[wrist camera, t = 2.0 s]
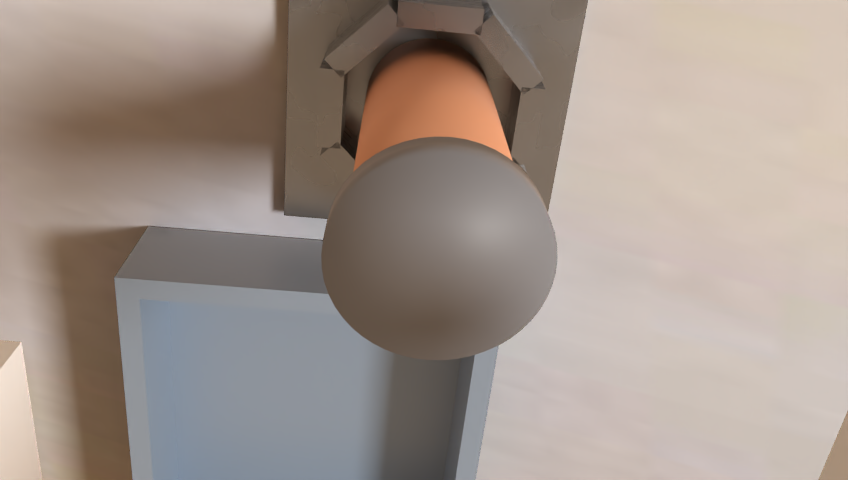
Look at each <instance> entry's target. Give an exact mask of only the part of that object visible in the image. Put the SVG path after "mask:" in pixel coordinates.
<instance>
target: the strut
mask: <svg viewBox="0 0 848 480" xmlns="http://www.w3.org/2000/svg"><path fill="white" fill-rule="evenodd" d="M321 263H322V273H323V278H324V283H325V286H326V288H327V291H328V294H329V296H330V298H331V300H332V302H333V304H334V306H335V308H336V309H337V310H338V312H339V313H340V315H341V316H342V318H343V319H344V320H345V321H346V322H347V323H348V324H349V325H350V326H351V327H352V328H353V329H354V330H355V331H356V332H358V333H359V334H360V335H361V336H362V337H364V338H365V339H367V340H368V341H370V342H372V343H373V344H375V345H377V346H379V347H381V348H383V349H385V350H387V351H390V352H393V353H396V354H398V355H402V356H406V357H410V358H416V359H423V360H451V359H459V358H464V357H469V356H473V355H476V354H479V353H482V352H485V351H487V350H490V349H492V348H494V347H496V346H498V345H500V344H502V343H503V342H505V341H507V340H509V339H510V338H511V337H513V336H514V335H515V334H517V333H518V332H519V331H521V330H522V329H523V328H524V327H525V326H526V325H527V324H528V323H529V322H530V321H531V320H532V319H533V317H534V316H535V315H536V314H537V312H538V311H539V310H540V308H541V307H542V305H543V303H544V302H545V300H546V298H547V296H548V294H549V292H550V289H551V287H552V284H553V280H554V277H555V273H556V266H557V243H556V238H555V232H554V229H553V226H552V223H551V220H550V217H549V215H548V212H547V209H546V206H545V204H544V201H543V199H542V197H541V195H540V193H539V191H538V189H537V187H536V186H535V184H534V183H533V182H532V180H531V179H530V177H529V176H528V175H527V174H526V173H525V172H524V171H523V170H522V169H521V168H520V167H519V166H518V165H517V164H516V163H514V162H513V161H512V157H511V154H510V151H509V148H508V145H507V142H506V138H505V135H504V132H503V129H502V126H501V122H500V119H499V116H498V113H497V110H496V106H495V103H494V100H493V97H492V94H491V91H490V87H489V84H488V81H487V78H486V75H485V73H484V71H483V69H482V68H481V66H480V65H479V63H478V62H477V61H476V59H475V58H474V57H473V56H472V55H471V54H469V53H468V52H467V51H466V50H464V49H463V48H461V47H460V46H458V45H456V44H454V43H451V42H448V41H445V40H440V39H433V38H424V39H417V40H412V41H409V42H406V43H404V44H401V45H399V46H398V47H396V48H394V49H393V50H391V51H390V52H389V53H387V54H386V55H385V56H384V57H383V58H382V59H381V61H380V62H379V63H378V64H377V66H376V67H375V69H374V71H373V73H372V75H371V77H370V80H369V83H368V87H367V93H366V99H365V105H364V111H363V117H362V123H361V129H360V135H359V141H358V147H357V153H356V158H355V164H354V170H353V173H352V174H351V175H350V176H349V177H348V179H347V180H346V181H345V182H344V184H343V185H342V187H341V188H340V190H339V192H338V193H337V195H336V197H335V199H334V201H333V204H332V206H331V209H330V212H329V216H328V220H327V224H326V229H325V233H324V238H323V244H322V252H321Z"/></svg>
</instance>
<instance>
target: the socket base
mask: <svg viewBox="0 0 848 480" xmlns="http://www.w3.org/2000/svg"><path fill="white" fill-rule="evenodd" d="M587 3H588V0H289V13H288V60H287V106H286V153H285V200H284V215H286V216H299V217H311V218H323V219H328V216H329V212H330V209H331V206H332V204H333V201H334V199H335V197H336V195H337V193H338V192H339V190H340V188H341V187H342V185H343V184H344V182H345V181H346V180H347V179H348V177H349V176H350V175H351V174H352V173H353V170H354V164H355V158H356V153H357V147H358V141H359V135H360V129H361V123H362V117H363V111H364V105H365V99H366V93H367V87H368V83H369V80H370V77H371V75H372V73H373V71H374V69H375V67H376V66H377V64H378V63H379V62H380V61H381V59H382V58H383V57H384V56H385V55H386V54H387V53H389V52H390V51H391V50H393V49H394V48H396V47H398V46H399V45H401V44H404V43H406V42H409V41H412V40H417V39H424V38H433V39H440V40H445V41H448V42H451V43H454V44H456V45H458V46H460V47H461V48H463V49H464V50H466V51H467V52H468V53H469V54H471V55H472V56H473V57H474V58H475V59H476V61H477V62H478V63H479V65H480V66H481V68H482V69H483V71H484V73H485V75H486V78H487V81H488V84H489V87H490V91H491V94H492V97H493V100H494V103H495V106H496V110H497V113H498V116H499V119H500V122H501V126H502V129H503V132H504V135H505V138H506V142H507V145H508V148H509V151H510V154H511V157H512V161H513V162H514V163H516V164H517V165H518V166H519V167H520V168H521V169H522V170H523V171H524V172H525V173H526V174H527V175H528V176H529V177H530V179H531V180H532V182H533V183H534V184H535V186H536V187H537V189H538V191H539V193H540V195H541V197H542V199H543V201H544V204H545V206H546V209H547V212H548V209H549V204H550V198H551V193H552V188H553V182H554V177H555V172H556V167H557V161H558V156H559V151H560V145H561V140H562V135H563V130H564V124H565V119H566V114H567V108H568V103H569V98H570V93H571V87H572V82H573V77H574V71H575V66H576V61H577V56H578V50H579V45H580V40H581V34H582V29H583V24H584V19H585V13H586V8H587Z"/></svg>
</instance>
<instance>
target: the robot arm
mask: <svg viewBox="0 0 848 480" xmlns="http://www.w3.org/2000/svg"><path fill="white" fill-rule="evenodd" d="M0 480H42V474H41V467H40V461H39V454H38V448H37V441H36V434H35V428H34V421H33V415H32V408H31V402H30V395H29V389H28V382H27V376H26V369H25V363H24V356H23V350H22V343H21V342H15V341H1V340H0ZM819 480H848V412H847V414H846V416H845V419H844V421H843V423H842V426H841V428H840V430H839V433H838V435H837V438H836V440H835V442H834V445H833V447H832V449H831V452H830V454H829V456H828V459H827V461H826V463H825V466H824V468H823V470H822V473H821V475H820V477H819Z"/></svg>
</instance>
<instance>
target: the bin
mask: <svg viewBox="0 0 848 480" xmlns="http://www.w3.org/2000/svg"><path fill="white" fill-rule="evenodd" d="M322 244H323V240H312V239H300V238H288V237H275V236H263V235H251V234H238V233H226V232H214V231H201V230H189V229H177V228H164V227H152V226H148V228H147V229H146V231H145V232H144V234H143V235H142V237H141V238H140V240H139V241H138V243H137V244H136V246H135V247H134V249H133V250H132V252H131V253H130V255H129V256H128V258H127V259H126V261H125V262H124V264H123V265H122V267H121V268H120V270H119V271H118V273H117V274H116V276H115V277H114V281H115V292H116V303H117V314H118V325H119V336H120V347H121V358H122V369H123V380H124V391H125V402H126V413H127V424H128V435H129V446H130V457H131V468H132V479H133V480H475V479H476V473H477V467H478V462H479V456H480V450H481V444H482V438H483V433H484V427H485V421H486V415H487V409H488V404H489V398H490V392H491V386H492V380H493V375H494V369H495V363H496V357H497V351H498V346H499V345H498V346H496V347H494V348H492V349H490V350H487V351H485V352H482V353H479V354H476V355H473V356H469V357H464V358H459V359H451V360H423V359H416V358H410V357H406V356H402V355H398V354H396V353H393V352H390V351H387V350H385V349H383V348H381V347H379V346H377V345H375V344H373V343H372V342H370V341H368V340H367V339H365V338H364V337H362V336H361V335H360V334H359V333H358V332H356V331H355V330H354V329H353V328H352V327H351V326H350V325H349V324H348V323H347V322H346V321H345V320H344V319H343V318H342V316H341V315H340V313H339V312H338V310H337V309H336V308H335V306H334V304H333V302H332V300H331V298H330V296H329V294H328V291H327V288H326V286H325V283H324V278H323V273H322V263H321V252H322Z"/></svg>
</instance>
